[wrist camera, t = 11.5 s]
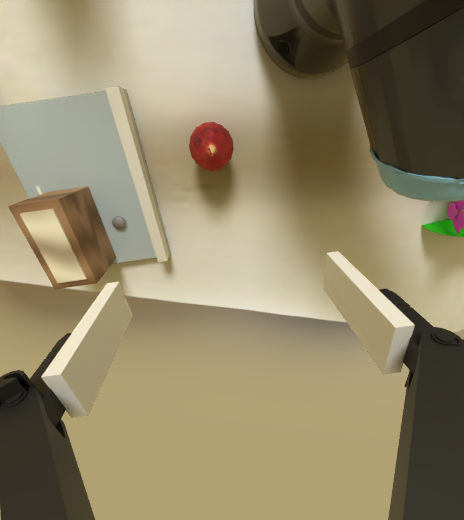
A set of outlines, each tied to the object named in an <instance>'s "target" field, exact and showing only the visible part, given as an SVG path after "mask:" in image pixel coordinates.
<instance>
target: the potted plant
mask: <svg viewBox="0 0 464 520" xmlns="http://www.w3.org/2000/svg"><path fill="white" fill-rule="evenodd" d="M455 206H456V207H455ZM462 209H463V210H462ZM448 216H449V219H447V220H444V221H440V222H435V223H431V224H426V225H422V226H423V227H425V228H426V229H428V230H431V231H434V232H436V233H439V234H443V235H447V236H457V237H463V236H464V200H462V201H455V204H454V203H453V202H452V203H450V204H449V207H448Z"/></svg>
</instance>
